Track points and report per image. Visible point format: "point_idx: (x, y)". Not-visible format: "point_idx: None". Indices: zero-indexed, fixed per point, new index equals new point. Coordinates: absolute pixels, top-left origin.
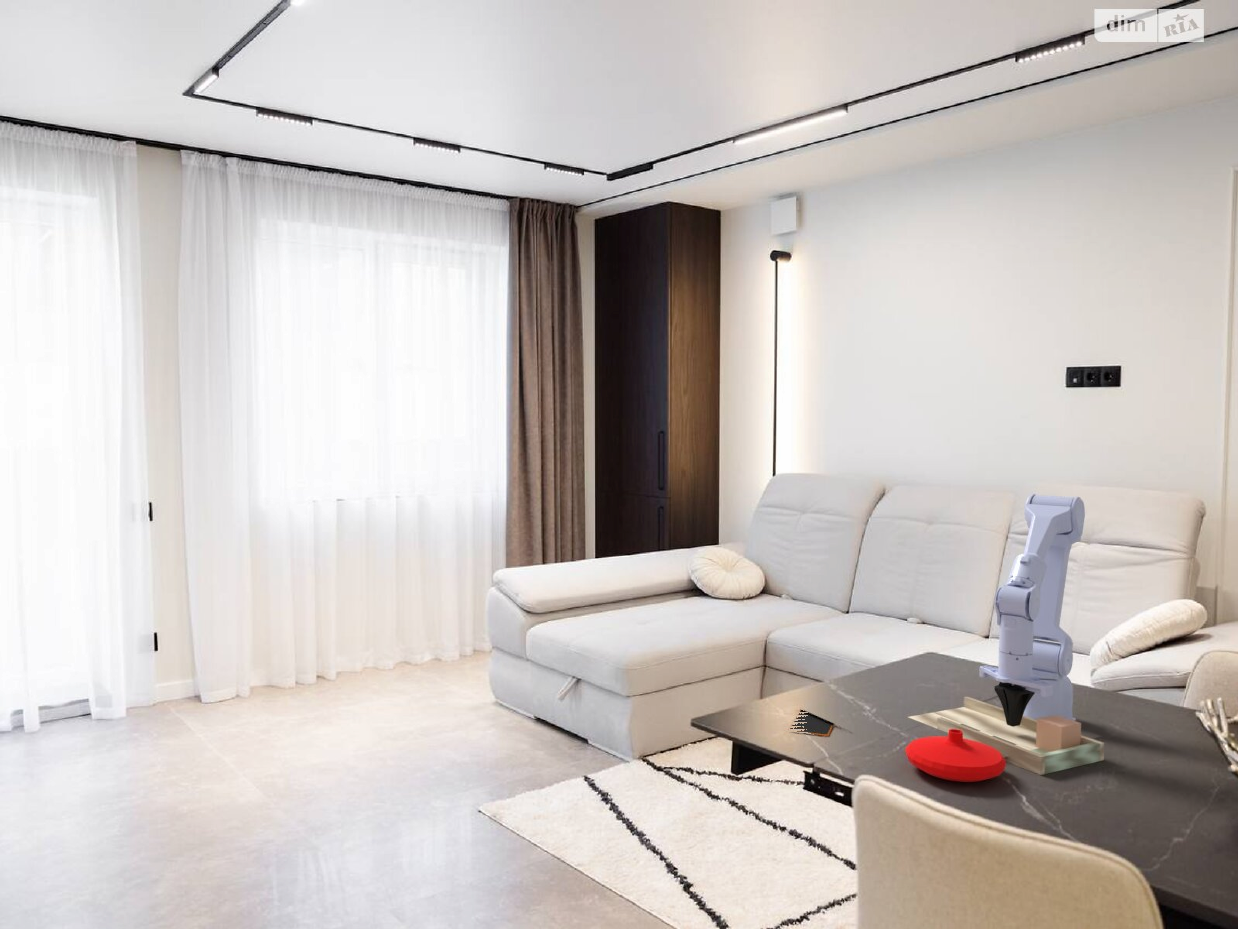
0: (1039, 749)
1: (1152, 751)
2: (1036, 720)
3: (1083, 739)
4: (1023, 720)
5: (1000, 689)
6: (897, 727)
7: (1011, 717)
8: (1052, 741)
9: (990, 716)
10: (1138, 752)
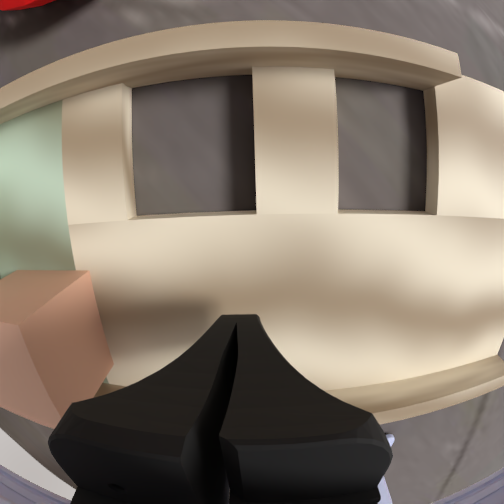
0: (63, 255)
1: None
2: None
3: None
4: None
5: (263, 442)
6: (492, 37)
7: (210, 330)
8: (14, 285)
9: (417, 377)
10: None
